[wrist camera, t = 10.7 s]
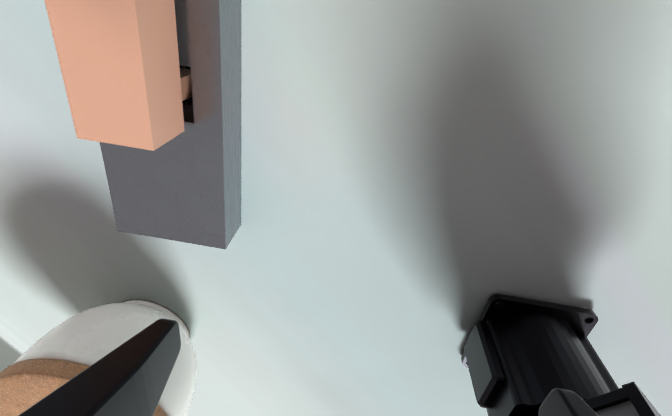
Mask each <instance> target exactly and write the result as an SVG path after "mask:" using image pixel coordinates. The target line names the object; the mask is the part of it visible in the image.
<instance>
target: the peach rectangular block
mask: <svg viewBox="0 0 672 416" xmlns="http://www.w3.org/2000/svg"><path fill="white" fill-rule="evenodd" d="M45 4H46V8H47V12H48V16H49V21H50V25H51V29H52V33H53V38H54V42H55V46H56V50H57V55H58V59H59V63H60V67H61V71H62V76H63V80H64V84H65V88H66V93H67V97H68V101H69V105H70V109H71V114H72V118H73V122H74V126H75V131H76V135H77V138H80V139H86V140H92V141H98V142H104V143H110V144H116V145H122V146H128V147H134V148H140V149H146V150H152V151H154V150H156V149H158V148H159V147H161V146H162V145H164V144H165V143H167V142H168V141H170V140H171V139H173V138H175V137H176V136H178V135H179V134H181V133H182V132H184V131H185V130H184V117H183V105H182V101H184V100H186V99H188V98H190V97H192V83H191V69H185V68H180V67H179V54H178V42H177V29H176V16H175V4H174V0H45Z"/></svg>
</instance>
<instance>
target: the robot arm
mask: <svg viewBox="0 0 672 416" xmlns="http://www.w3.org/2000/svg"><path fill="white" fill-rule="evenodd" d="M497 302H500V303H497ZM597 321H598V317H597V316H596V314H595V313H594V312H593V311H591V310H587V309H582V308H576V307H570V306H564V305H558V304H552V303H547V302H541V301H535V300H529V299H523V298H517V297H512V296H506V295H500V294H496V295H493V296H491V297H490V298H489V300H488V302H487V304H486V306H485V308H484V310H483V312H482V315H481V317H480V319H479V321H477V322H476V323H475V324H474V327H473V329H472V331H471V333H470V335H469V337H468V339H467V342H466V344H465V346H464V353H463V355H462V357H461V360H462V364H463V365H464V366H465V367H468V368H469V372H470V376H471V380H472V384H473V388H474V392H475V396H476V400H477V403H478V404H479V405H480V407H483V408H486V409H487V413H488V416H661V415H660V414H659V413H658V412H657V410H656V409H655V408H654V407H653V405H652V404H651V403H650V401H649V400H648V399H647V398H646V396H645V395H644V394H643V393H642V391H641V390H640V389H639V388H638V386H637V385H636V384H635V383H634V381H633V382H630V383H628V384H625V385H622V387H623V388H620V389H619V388H618V387H617V385H616V383H615V382H614V380H613V379H612V377H611V375H610V374H609V372H608V371H607V369H606V367H605V366H604V364H603V363H602V361H601V360H600V358H599V356H598V355H597V353H596V352H595V350H594V348H593V347H592V345H591V344H590V342H589V341H588V339H587V336H588V334H589V333H590V332H591V330H592V329H593V327H594V326H595V325H596V323H597ZM180 348H181V338H180V330H179V324H178V322H177V321H175V320H170V319H164V318H162V319H158V320H157V321H155V322H154V323H152V324H151V325H149V326H148V327H146V328H145V329H143V330H142V331H141V332H139V333H138V334H136V335H135V336H133V337H132V338H130V339H129V340H127V341H126V342H125V343H123V344H122V345H120V346H119V347H117V348H116V349H114V350H113V351H111V352H110V353H108V354H107V355H106V356H104V357H103V358H101V359H100V360H98V361H97V362H95V363H94V364H92V365H91V366H90V367H88V368H87V369H85V370H84V371H82V372H81V373H79V374H78V375H76V376H75V377H74V378H72V379H71V380H69V381H68V382H66V383H65V384H63V385H62V386H60V387H59V388H58V389H56V390H55V391H53V392H52V393H50V394H49V395H47V396H46V397H44V398H43V399H41V400H40V401H39V402H37V403H36V404H34V405H33V406H31V407H30V408H28V409H27V410H25V411H24V412H23V413H21V414H20V415H18V416H153V414H154V412H155V410H156V407H157V405H158V403H159V400H160V398H161V395H162V393H163V391H164V388H165V386H166V383H167V381H168V379H169V376H170V374H171V371H172V369H173V367H174V364H175V362H176V360H177V357H178V355H179V352H180Z"/></svg>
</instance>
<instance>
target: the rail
mask: <svg viewBox="0 0 672 416" xmlns="http://www.w3.org/2000/svg"><path fill="white" fill-rule="evenodd" d="M174 4H175V16H176V29H177V42H178V54H179V65H182V66H188V67H190V68H191V83H192V98H193V105H187V104H182V105H183V117H184V130H185V131H184V132H182V133H181V134H179V135H178V136H176V137H175V138H173V139H171V140H170V141H168V142H167V143H165V144H164V145H162V146H161V147H159V148H158V149H156V150H154V151H152V150H146V149H140V148H134V147H128V146H122V145H116V144H110V143H104V142H100V146H101V150H102V155H103V160H104V165H105V170H106V175H107V180H108V184H109V189H110V194H111V199H112V204H113V209H114V213H115V218H116V223H117V228H118V231H123V232H128V233H134V234H140V235H146V236H152V237H158V238H163V239H169V240H175V241H181V242H187V243H193V244H198V245H204V246H210V247H216V248H222V249H226V248H227V246H228V245H229V243H230V241H231V240H232V238H233V237H234V235H235V233H236V232H237V230H238V229H239V227H240V225H241V0H174Z"/></svg>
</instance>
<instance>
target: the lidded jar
mask: <svg viewBox="0 0 672 416" xmlns="http://www.w3.org/2000/svg"><path fill="white" fill-rule="evenodd" d="M162 318H164V319H170V320H175V321H177V322H178V324H179V330H180V338H181V348H180V352H179V355H178V357H177V360H176V362H175V364H174V367H173V369H172V371H171V374H170V376H169V379H168V381H167V383H166V386H165V388H164V391H163V393H162V395H161V398H160V400H159V403H158V405H157V407H156V410H155V412H154V414H153V416H187V413H188V411H189V407H190V404H191V401H192V398H193V395H194V390H195V386H196V377H197V363H196V356H195V351H194V349H193V346H192V343H191V341H190V335H189V332H188V329H187V327H186V326H185V324H184V323H183V321H182V320H181V319H180V318H179V317H178V316H177V315H175V314H174V313H173V312H171V311H170V310H168V309H167V308H165V307H163V306H161V305H158V304H156V303H153V302H149V301H143V300H129V301H125V302H122V303H113V304H105V305H101V306H97V307H94V308H90V309H87V310H85V311H83V312H81V313H79V314H76V315H74V316H72V317H70V318H68V319H67V320H65V321H64V322H62V323H61V324H59V325H58V326H56V327H55V328H53V329H52V330H51V331H49V332H48V333H47V334H46V335H44V336H43V337H42V338H40V339H39V340H38V341H37V342H36V343H34V344H33V345H32V346H31V347H30V348H29V349H28V350H27V351H26V352H25V353H24V354H22V355H21V356H20V357H19V358H18V359H17V360H16V361H15V362H14V363H13V364H12V365H10V366H8V367H7V368H6V369H5V370H3V371H2V372H1V373H0V416H18V415H20V414H21V413H23V412H24V411H25V410H27V409H28V408H30V407H31V406H33V405H34V404H36V403H37V402H39V401H40V400H41V399H43V398H44V397H46V396H47V395H49V394H50V393H52V392H53V391H55V390H56V389H58V388H59V387H60V386H62V385H63V384H65V383H66V382H68V381H69V380H71V379H72V378H74V377H75V376H76V375H78V374H79V373H81V372H82V371H84V370H85V369H87V368H88V367H90V366H91V365H92V364H94V363H95V362H97V361H98V360H100V359H101V358H103V357H104V356H106V355H107V354H108V353H110V352H111V351H113V350H114V349H116V348H117V347H119V346H120V345H122V344H123V343H125V342H126V341H127V340H129V339H130V338H132V337H133V336H135V335H136V334H138V333H139V332H141V331H142V330H143V329H145V328H146V327H148V326H149V325H151V324H152V323H154V322H155V321H157V320H158V319H162Z"/></svg>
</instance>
